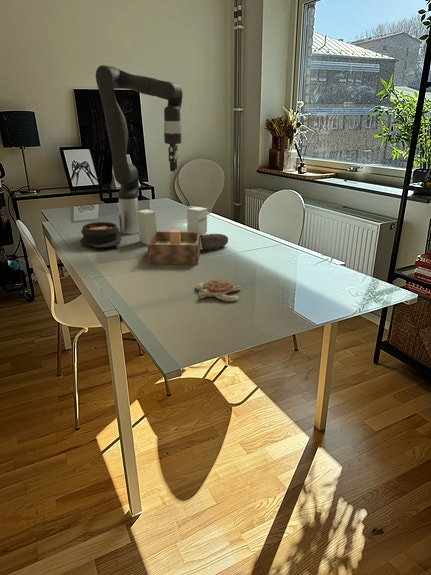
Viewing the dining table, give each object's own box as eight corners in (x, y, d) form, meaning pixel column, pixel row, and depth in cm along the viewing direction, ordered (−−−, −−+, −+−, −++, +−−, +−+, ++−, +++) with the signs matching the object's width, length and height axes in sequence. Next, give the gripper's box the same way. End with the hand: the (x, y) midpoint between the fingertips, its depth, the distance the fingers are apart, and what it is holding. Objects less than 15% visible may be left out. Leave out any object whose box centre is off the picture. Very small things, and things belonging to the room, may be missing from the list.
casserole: (75, 239, 200) (73, 222, 197) (113, 234, 209) (112, 218, 205) (87, 253, 180) (85, 234, 177) (129, 248, 188) (128, 229, 185)
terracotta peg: (170, 255, 176) (169, 232, 172) (171, 252, 180) (170, 229, 176) (180, 255, 176) (179, 232, 172) (180, 252, 179) (180, 229, 176)
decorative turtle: (180, 293, 143) (180, 279, 141) (215, 281, 153) (216, 268, 151) (218, 310, 131) (218, 295, 129) (253, 295, 141) (254, 281, 139)
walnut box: (148, 263, 169) (147, 244, 166) (155, 248, 187) (154, 231, 184) (198, 264, 169) (197, 245, 166) (200, 249, 187) (200, 232, 184)
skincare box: (157, 243, 195) (156, 211, 189) (146, 245, 192) (144, 213, 186) (150, 239, 201) (148, 208, 196) (138, 241, 198) (136, 209, 193)
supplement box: (198, 235, 208) (198, 210, 203) (186, 233, 212) (186, 208, 208) (207, 232, 214) (207, 208, 209) (196, 230, 218) (196, 206, 213)
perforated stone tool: (225, 244, 195) (225, 230, 192) (231, 247, 190) (231, 232, 188) (196, 249, 188) (196, 234, 185) (202, 252, 183) (202, 237, 181)
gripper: (166, 131, 192) (167, 168, 198) (162, 132, 179) (163, 171, 185) (182, 131, 192) (183, 168, 198) (179, 133, 179) (180, 172, 185)
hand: (173, 170), depth 192 cm, fingers open, 8 cm apart
